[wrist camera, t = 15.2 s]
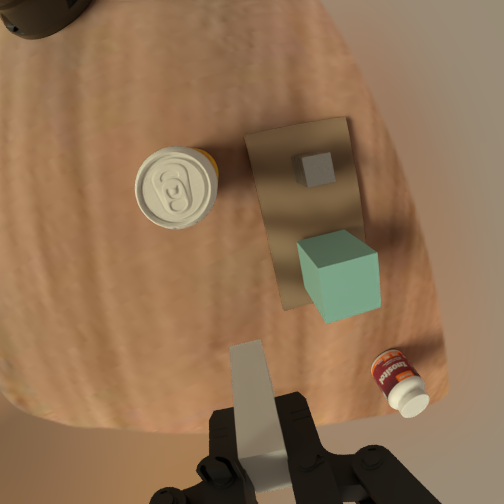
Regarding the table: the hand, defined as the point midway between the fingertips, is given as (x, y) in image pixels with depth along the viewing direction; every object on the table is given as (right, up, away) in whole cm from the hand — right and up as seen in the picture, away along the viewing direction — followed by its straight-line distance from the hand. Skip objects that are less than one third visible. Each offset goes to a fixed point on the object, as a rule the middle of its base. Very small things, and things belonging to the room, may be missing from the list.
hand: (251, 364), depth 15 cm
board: (+7, +10, +23) cm, 26 cm away
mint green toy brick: (+9, +5, +23) cm, 25 cm away
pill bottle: (+22, -13, +32) cm, 41 cm away
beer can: (-7, +14, +21) cm, 26 cm away
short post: (+6, +15, +20) cm, 26 cm away
